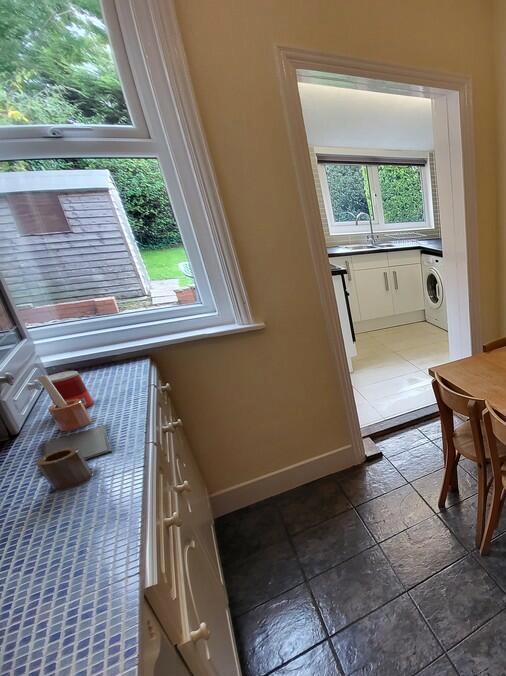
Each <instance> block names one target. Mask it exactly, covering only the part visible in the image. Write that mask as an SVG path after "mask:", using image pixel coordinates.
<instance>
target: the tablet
mask: <svg viewBox="0 0 506 676" xmlns="http://www.w3.org/2000/svg"><path fill="white" fill-rule="evenodd" d="M109 439H110V438H109V436H108V432H107V429H106V425H105V424H102V425H100V426H96V427H92V428H89V429H86V430H82V431H79V432H76V433H73V434H69V435H66V436H62V437H59V438H56V439H53V440H50V441H46V442H43V443H41V458H42V457H43V456H45V455H47V454H49V453H51V452H55V451H57V450H61V449H65V448H71V447H75V448H78V449H79V451H80V453H81V454H82V456H83V458H84V459H85V461H86V462H87V461H90V460H93V459H97V458H98V457H103V456H105V455H108V454H111V453H113V450H112V446H111V442H110V440H109ZM40 472H41V471H40ZM41 476H42V477H44V475H43V473H42V472H41Z"/></svg>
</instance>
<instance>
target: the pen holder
mask: <svg viewBox="0 0 506 676" xmlns="http://www.w3.org/2000/svg"><path fill="white" fill-rule="evenodd" d="M65 402H66V404H67V405H68V406H65V407H61V408H58V406H57V405H56V404H54V403H53V404H52V405H50V406H49V407H47V410H48V412H49V413H50V416H51V417H52V419H53V421H54V422H55V424H56V426H57V427H58V429H59V430H60V431H61V432H70V431H74V430H78V429H81V428H83V427H86V426H88V425H90V424H91V423H92V421H93V420H92V418H91V416H90V414H89V412H88V411H87V408H85V407H84V405H83V403H82V402H81V400H80V399H73V400H67V401H65Z"/></svg>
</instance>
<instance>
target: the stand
mask: <svg viewBox="0 0 506 676" xmlns="http://www.w3.org/2000/svg"><path fill="white" fill-rule="evenodd" d="M35 464H36V465H37V467H38V469H39V470H40V472H42V473H43V477H44V478H45V479H46V481H47V483H49V486H50V487H51V489H52V490H54V491H63V490H67V489H71V488H73V487H76V486H79V485H81V484H84V482H86V481H88V480H89V479H91V478H92V477H93V475H94V473H93V472H92V470H91V468H90V466H89V464H88V463H87V461H85V459H84V458H83V456H82V454H81V453H80V451H79V449H78V448H75V447H71V448H65V449H61V450H57V451H55V452H51V453H49V454H47V455H45V456H43V457H42V456H41V457H40V458H38V459H37V460H36V462H35Z"/></svg>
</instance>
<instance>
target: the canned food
mask: <svg viewBox="0 0 506 676" xmlns="http://www.w3.org/2000/svg"><path fill="white" fill-rule="evenodd" d="M47 377H48V378H49V379H50V381H51V382H52V384H53V385H54V387H55V388H56V389H57V391H58V392H59V394H60V395H61V396H62V398H63V399H64V401H67V400H73V399H80V400H81V402H82V403H83V405H84V407H85V409H87V408H89V407H92V405H93V404H94V400H93V398H92V396H91V394H90V392H89V390H88V388H87V387H86V384H85V382H84V381H83V379H82V377H81V375H80V373H78V371H77V370H68V371H67V370H66V371H61V372H57V373H54V374H49V375H47ZM46 393H47V394H48V392H47V391H46ZM48 396H49V398H50V399H51V401H52V403H53V405H54V404H55V402H54V401H53V399H52V398H51V397H50V395H49V394H48Z"/></svg>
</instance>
